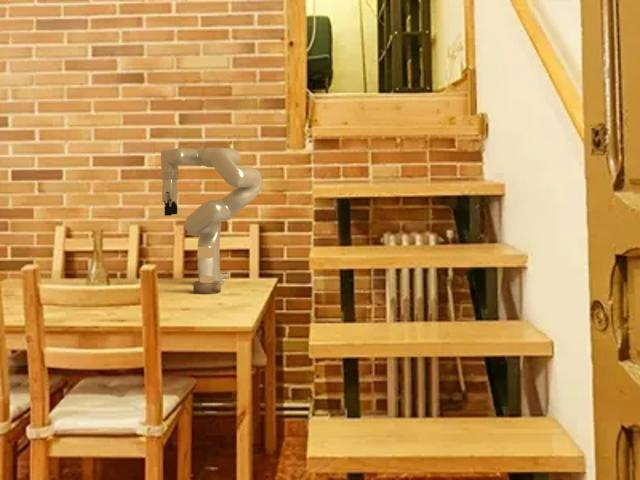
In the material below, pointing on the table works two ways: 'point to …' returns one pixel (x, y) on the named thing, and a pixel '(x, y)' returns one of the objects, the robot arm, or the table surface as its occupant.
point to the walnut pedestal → (206, 288)
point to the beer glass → (206, 263)
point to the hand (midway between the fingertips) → (171, 214)
